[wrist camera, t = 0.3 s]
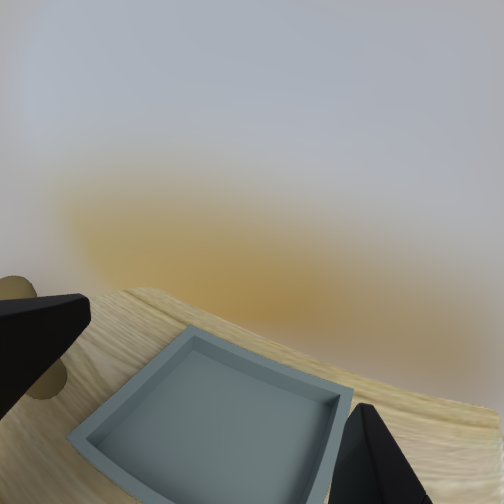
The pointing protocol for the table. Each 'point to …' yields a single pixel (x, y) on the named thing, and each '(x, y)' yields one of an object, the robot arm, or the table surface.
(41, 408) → the table surface
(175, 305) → the table surface
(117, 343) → the table surface
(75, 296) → the robot arm
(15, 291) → the cork
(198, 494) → the slate tray
